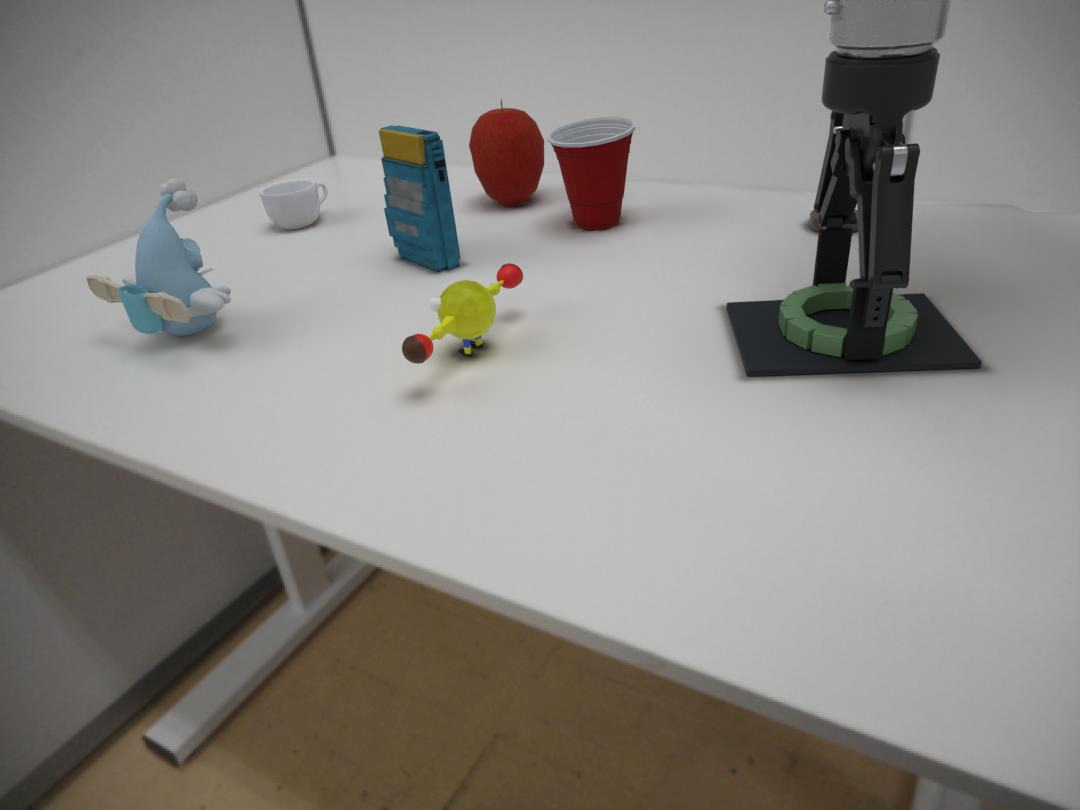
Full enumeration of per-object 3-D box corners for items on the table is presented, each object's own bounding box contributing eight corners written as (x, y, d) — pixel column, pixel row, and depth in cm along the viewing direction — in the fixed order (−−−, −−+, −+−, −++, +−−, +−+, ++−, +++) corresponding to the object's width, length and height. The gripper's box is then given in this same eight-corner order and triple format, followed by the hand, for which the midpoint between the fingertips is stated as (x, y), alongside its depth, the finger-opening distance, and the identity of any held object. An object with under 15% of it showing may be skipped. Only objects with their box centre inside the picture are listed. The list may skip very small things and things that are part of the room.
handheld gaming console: (466, 264, 87) (446, 132, 79) (438, 276, 85) (414, 141, 77) (418, 247, 93) (395, 123, 85) (390, 258, 91) (364, 131, 83)
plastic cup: (539, 222, 98) (530, 127, 91) (609, 203, 101) (605, 111, 95) (580, 245, 89) (573, 142, 83) (655, 224, 93) (654, 124, 87)
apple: (562, 196, 106) (555, 92, 99) (517, 218, 100) (505, 109, 92) (508, 188, 112) (497, 89, 105) (462, 208, 106) (447, 104, 98)
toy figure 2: (495, 306, 77) (486, 243, 73) (542, 313, 74) (536, 248, 71) (389, 393, 64) (372, 322, 60) (442, 405, 61) (428, 332, 58)
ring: (889, 298, 69) (892, 279, 68) (932, 354, 60) (936, 334, 59) (769, 304, 70) (771, 286, 69) (793, 360, 61) (795, 341, 60)
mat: (922, 298, 70) (923, 292, 69) (980, 368, 59) (982, 361, 58) (726, 307, 72) (726, 302, 71) (747, 376, 61) (748, 370, 60)
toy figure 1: (284, 323, 78) (240, 180, 70) (198, 369, 71) (138, 216, 63) (189, 298, 86) (140, 167, 78) (103, 337, 79) (40, 197, 71)
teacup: (291, 237, 101) (280, 198, 99) (259, 229, 106) (247, 191, 103) (348, 214, 108) (339, 177, 105) (315, 208, 112) (306, 172, 109)
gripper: (794, 32, 63) (774, 274, 75) (876, 80, 44) (831, 397, 55) (887, 23, 62) (851, 270, 74) (1013, 69, 43) (938, 394, 55)
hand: (843, 325), depth 65 cm, fingers closed on ring, 11 cm apart
